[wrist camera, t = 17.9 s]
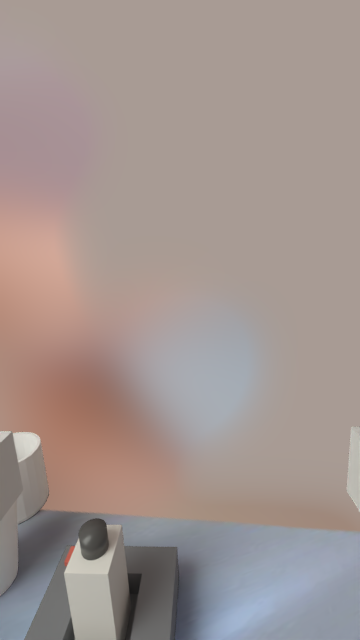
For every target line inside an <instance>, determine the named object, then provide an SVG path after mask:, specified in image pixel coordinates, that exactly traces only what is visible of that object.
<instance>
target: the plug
mask: <svg viewBox="0 0 360 640" xmlns="http://www.w3.org/2000/svg"><path fill="white" fill-rule="evenodd" d="M64 576H65V582H66V588H67V594H68V600H69V606H70V612H71V618H72V624H73V630H74V635H75V640H125V636H126V631H127V626H128V621H129V615H130V610H131V601H130V592H129V583H128V575H127V566H126V557H125V548H124V539H123V531H122V525H106V523H105V521H104V520H102V519H92V520H89V521H87V522H86V523H85V524H83V525H82V527H81V528H80V530H79V539H78V541H77V544H76V546H75V548H74V551H73V553H72V555H71V558H70V560H69V563H68V565H67V567H66V570H65V572H64Z"/></svg>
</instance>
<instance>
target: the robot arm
mask: <svg viewBox="0 0 360 640" xmlns="http://www.w3.org/2000/svg"><path fill="white" fill-rule="evenodd" d="M22 491H23V485H22V480H21V475H20V470H19V464H18V459H17V454H16V449H15V443H14V438H13V433H12V431H6V432H5V431H4V432H3V431H1V432H0V521H1V520H2V518H3V517H4V516H5V514H6V513H7V512H8V510H9V509H10V508H11V506H12V505H13V504H14V502H15V501H16V499H17V498H18V497H19V495H20V494H21V493H22ZM347 492H348V494H349V495H350V497H351V499H352V500H353V502H354V503H355V505H356V507H357V508H358V510H359V511H360V427H351V437H350V450H349V465H348V479H347Z"/></svg>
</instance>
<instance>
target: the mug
mask: <svg viewBox="0 0 360 640" xmlns="http://www.w3.org/2000/svg"><path fill="white" fill-rule="evenodd" d="M13 438H14V443H15V449H16V454H17V459H18V464H19V470H20V475H21V480H22V485H23V491H22V493H21V494H20V495H19V497H18V498H17V525H18V524H20V523H22V522H24V521H26V520H28V519H29V518H30V517H32V516H33V515H35V514H36V513H37V512H38V511H39V510H40V509H41V508H42V507H43V505H44V504H45V502H46V501H47V498H48V496H49V488H48V482H47V476H46V470H45V465H44V458H43V452H42V446H41V441H40V438H39V436H38V435H36V434H34V433H30V432H20V433H13Z"/></svg>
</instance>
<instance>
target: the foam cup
mask: <svg viewBox="0 0 360 640" xmlns="http://www.w3.org/2000/svg"><path fill="white" fill-rule="evenodd" d="M17 572H18V529H17V499H16V501H15V502H14V504H13V505H12V506H11V508H10V509H9V510H8V512H7V513H6V514H5V516H4V517H3V518H2V520H1V521H0V596H1V595H2V594H3V593H4V592H5V591H6V590H7V589H8V588H9V587H10V586H11V584H12V583H13V581H14V579H15V578H16V576H17Z"/></svg>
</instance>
